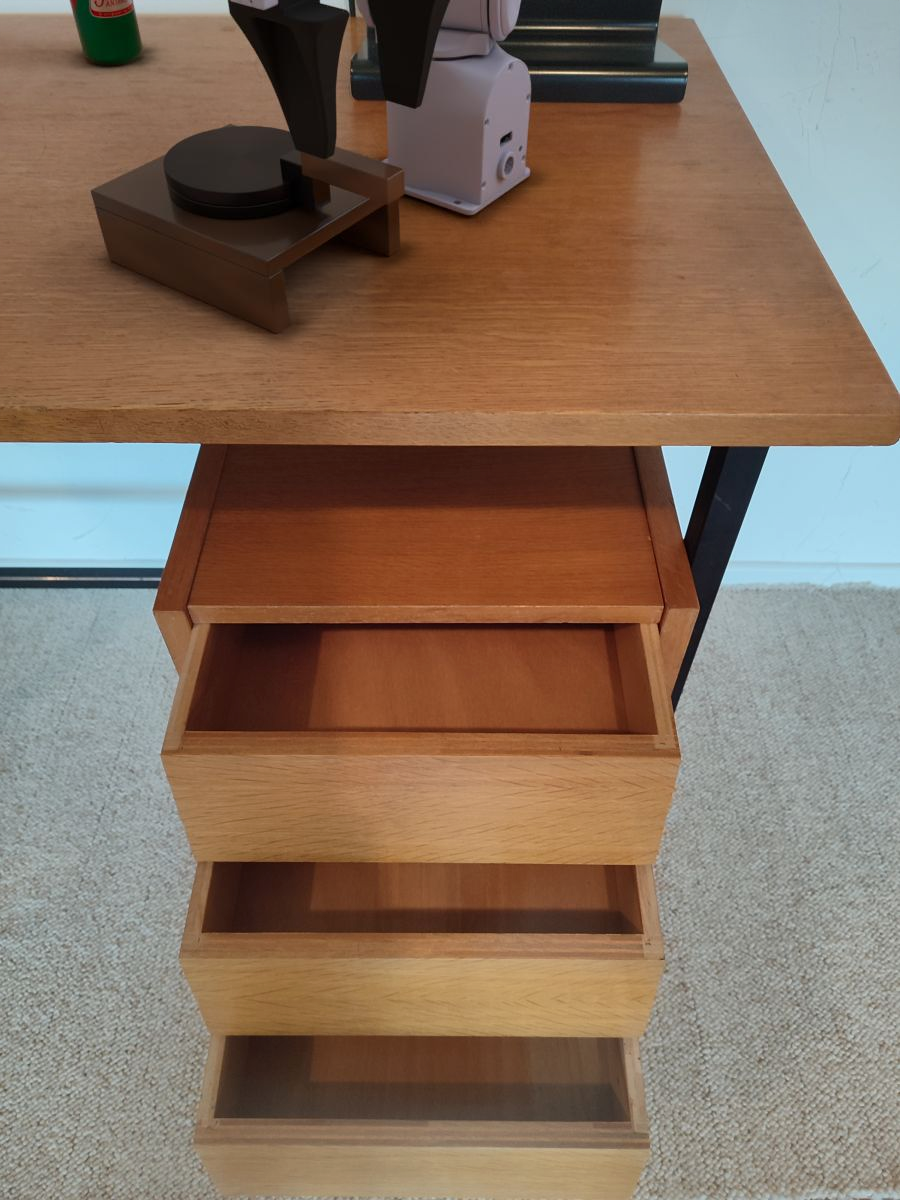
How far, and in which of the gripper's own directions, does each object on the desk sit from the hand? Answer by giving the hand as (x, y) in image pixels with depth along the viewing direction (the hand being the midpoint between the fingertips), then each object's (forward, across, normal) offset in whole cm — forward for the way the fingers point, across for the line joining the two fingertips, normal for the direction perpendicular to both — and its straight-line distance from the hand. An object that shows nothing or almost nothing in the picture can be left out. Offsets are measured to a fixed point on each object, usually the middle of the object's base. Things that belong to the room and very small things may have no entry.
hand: (360, 126), depth 49 cm
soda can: (+10, -18, -42) cm, 46 cm away
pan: (+5, +1, -5) cm, 8 cm away
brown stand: (+10, 0, -9) cm, 13 cm away
